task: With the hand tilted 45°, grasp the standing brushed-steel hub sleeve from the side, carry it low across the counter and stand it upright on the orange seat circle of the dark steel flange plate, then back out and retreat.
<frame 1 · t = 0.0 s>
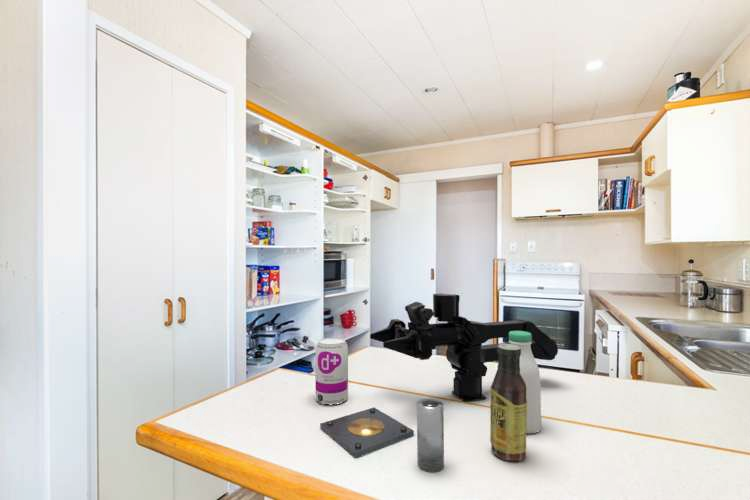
hand: (376, 340, 85), 17 cm above the counter, tool horizontal, fingers open, 9 cm apart
sauce bottle: (508, 455, 65), on the counter
milk bottle: (521, 427, 76), on the counter
supplement can: (331, 400, 91), on the counter
hub sleeve: (430, 464, 62), on the counter
flange plate: (366, 431, 74), on the counter
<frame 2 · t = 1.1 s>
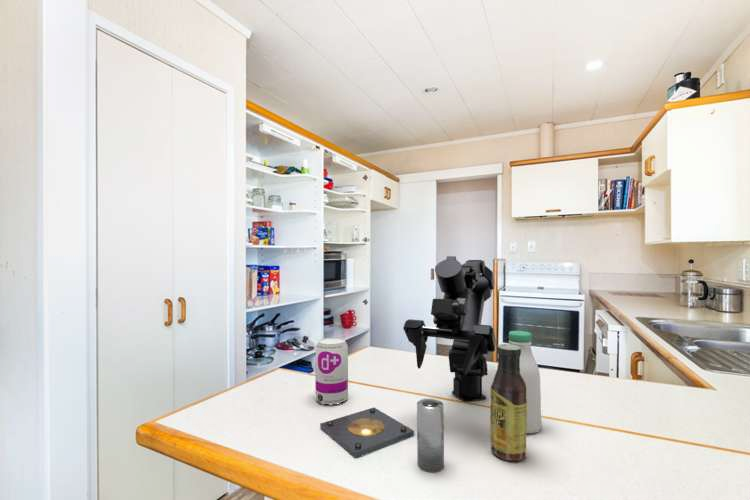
hand: (440, 370, 70), 14 cm above the counter, tool tilted 45°, fingers open, 9 cm apart
nothing on the counter moved.
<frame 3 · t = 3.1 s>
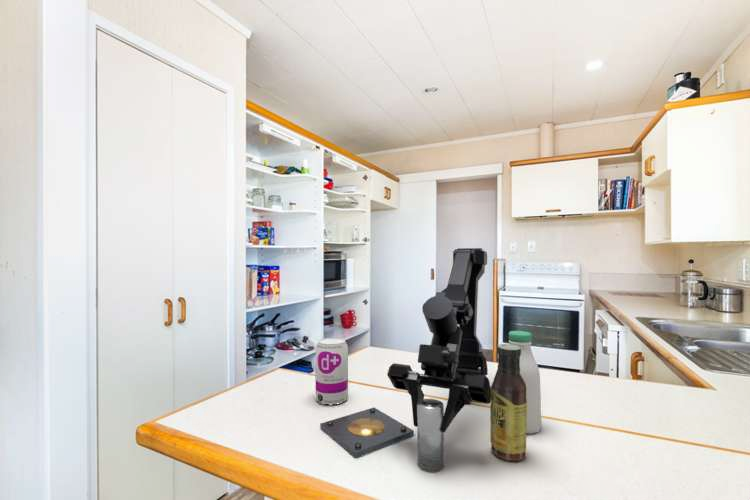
hand: (428, 428, 62), 7 cm above the counter, tool tilted 45°, fingers closed on hub sleeve, 5 cm apart
hub sleeve: (430, 464, 62), on the counter, touching gripper
everything else where it was.
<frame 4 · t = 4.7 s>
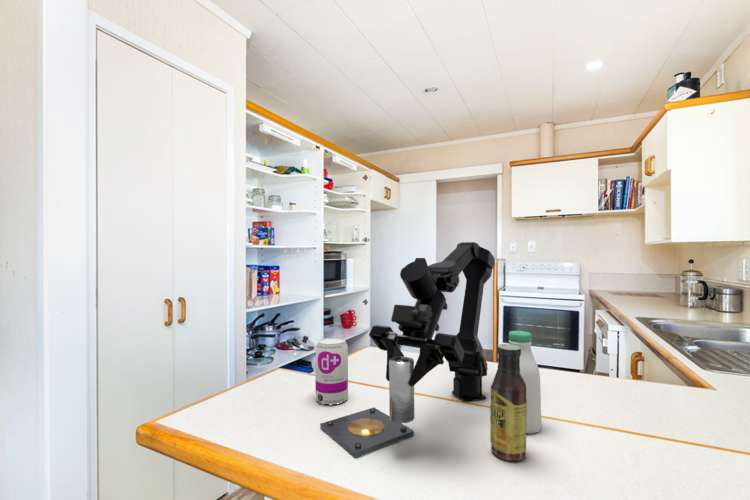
hand: (398, 382, 65), 13 cm above the counter, tool tilted 45°, fingers closed on hub sleeve, 5 cm apart
hub sleeve: (402, 417, 66), point 7 cm above the counter, touching gripper
everything else where it was.
when the fingers open (9 cm above the counter, at t = 6.5 s): hub sleeve stays where it is, resting on flange plate.
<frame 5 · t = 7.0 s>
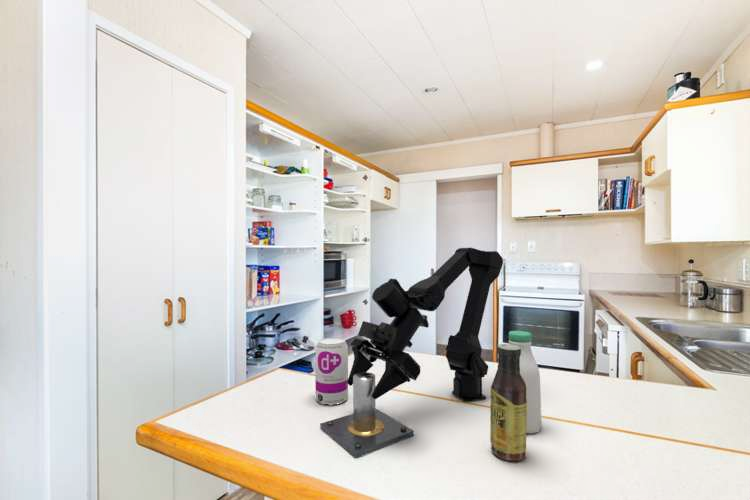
hand: (360, 390, 73), 9 cm above the counter, tool tilted 45°, fingers open, 9 cm apart
hub sleeve: (364, 426, 74), point 1 cm above the counter, touching flange plate
everything else where it was.
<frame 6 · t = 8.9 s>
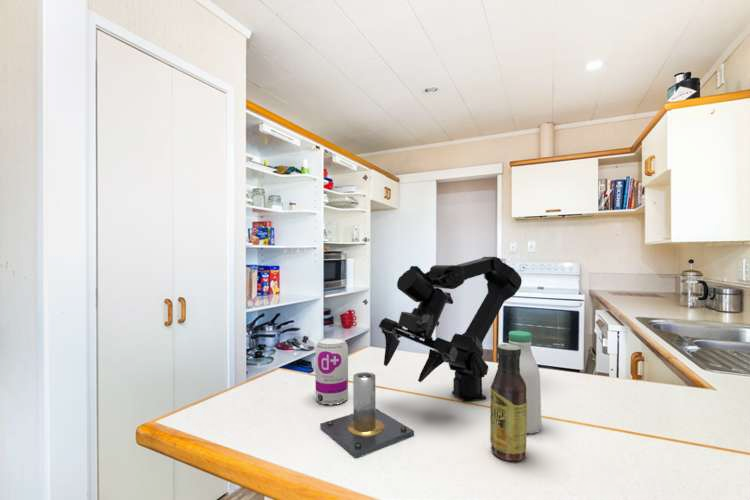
hand: (401, 373, 80), 10 cm above the counter, tool tilted 35°, fingers open, 9 cm apart
nothing on the counter moved.
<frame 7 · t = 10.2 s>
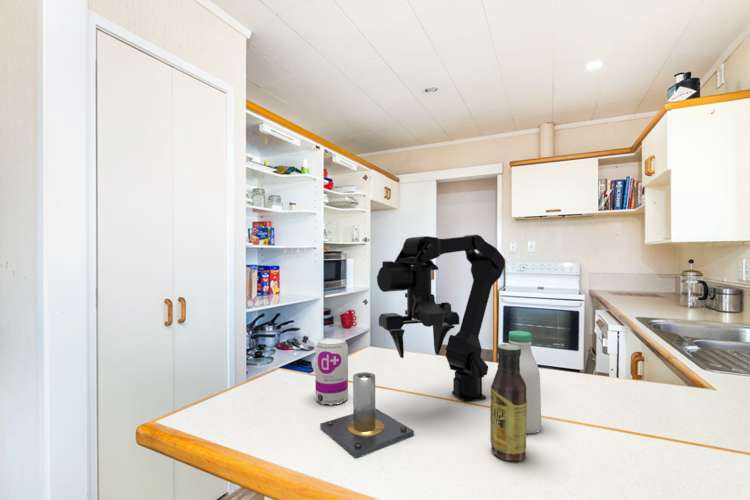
hand: (419, 355, 84), 13 cm above the counter, tool pointing down, fingers open, 9 cm apart
nothing on the counter moved.
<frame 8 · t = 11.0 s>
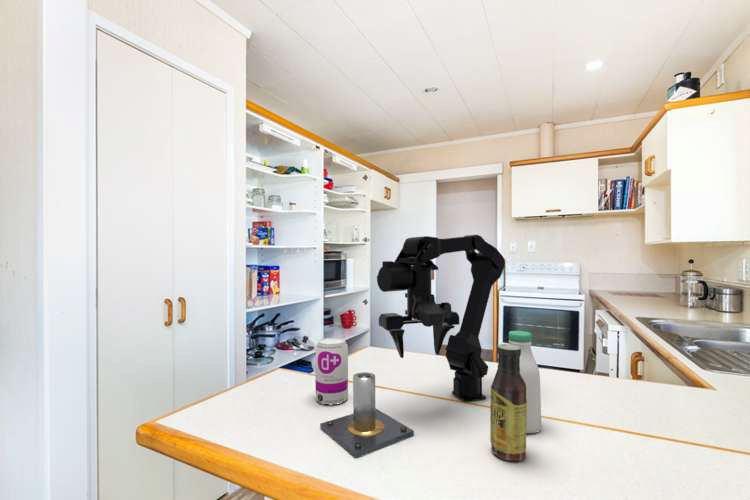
hand: (419, 355, 84), 13 cm above the counter, tool pointing down, fingers open, 9 cm apart
nothing on the counter moved.
at the end: hub sleeve 0.4 cm from the flange plate (horizontally); hub sleeve tilted 0°; hub sleeve point 1.1 cm above the counter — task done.
